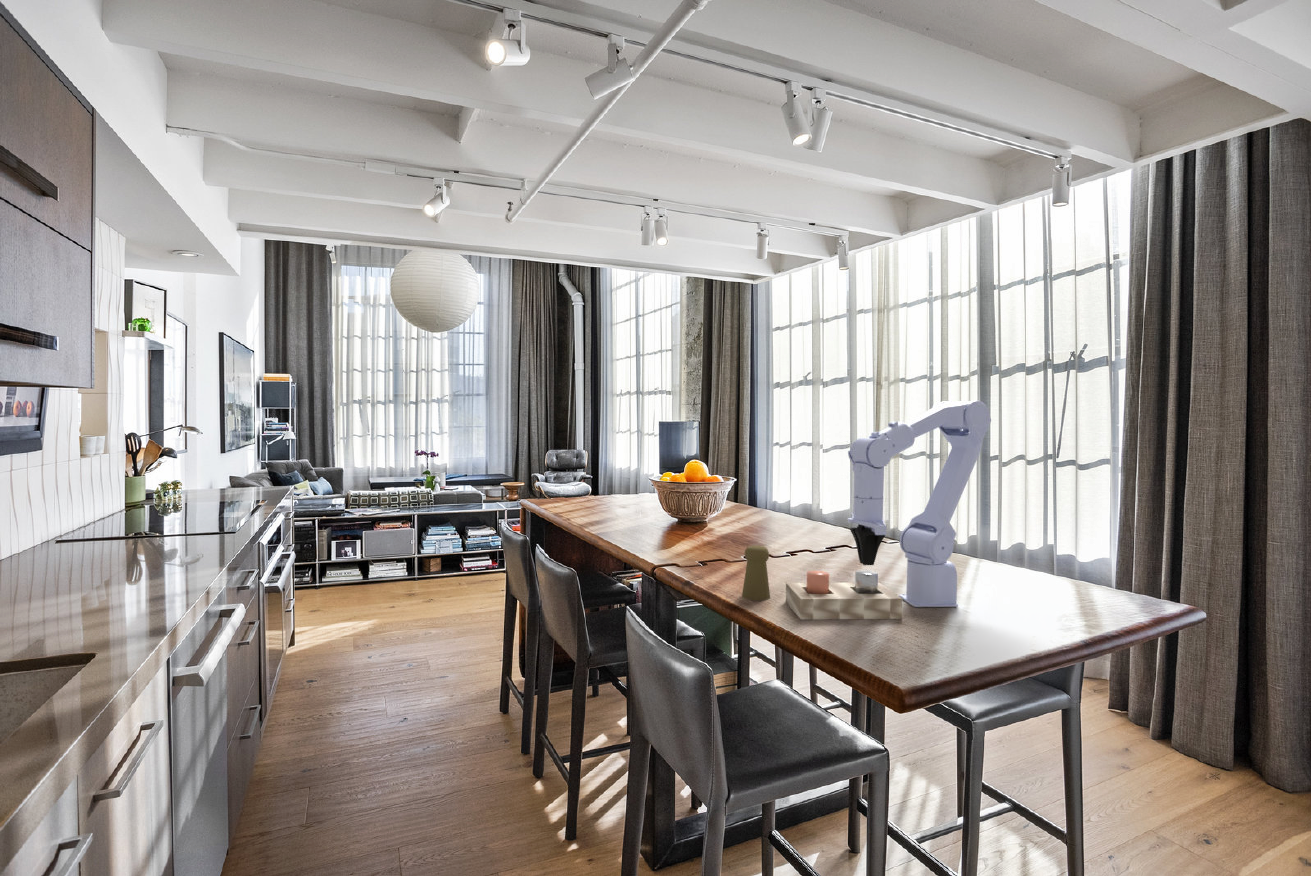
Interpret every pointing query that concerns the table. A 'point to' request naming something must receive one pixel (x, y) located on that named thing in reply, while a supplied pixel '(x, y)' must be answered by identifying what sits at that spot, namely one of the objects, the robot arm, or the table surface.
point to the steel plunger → (866, 582)
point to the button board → (843, 603)
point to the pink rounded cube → (817, 582)
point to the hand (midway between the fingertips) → (866, 563)
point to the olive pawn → (756, 573)
